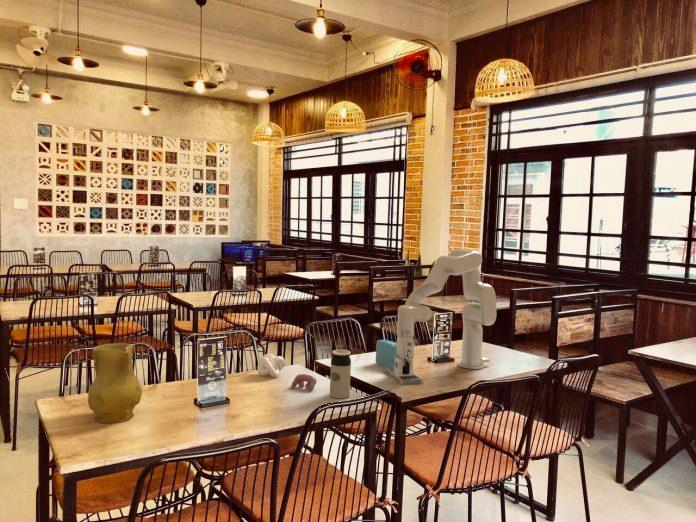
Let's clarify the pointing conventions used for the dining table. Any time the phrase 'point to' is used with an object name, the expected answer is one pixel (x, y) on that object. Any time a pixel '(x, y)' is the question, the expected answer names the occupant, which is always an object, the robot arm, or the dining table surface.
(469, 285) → the robot arm
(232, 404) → the dining table surface
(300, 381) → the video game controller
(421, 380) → the grey rectangular frame
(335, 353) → the travel mug
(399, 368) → the module
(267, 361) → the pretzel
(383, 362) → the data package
